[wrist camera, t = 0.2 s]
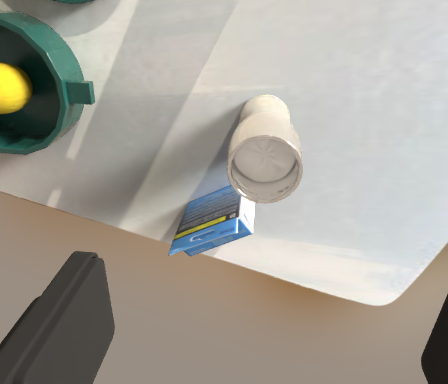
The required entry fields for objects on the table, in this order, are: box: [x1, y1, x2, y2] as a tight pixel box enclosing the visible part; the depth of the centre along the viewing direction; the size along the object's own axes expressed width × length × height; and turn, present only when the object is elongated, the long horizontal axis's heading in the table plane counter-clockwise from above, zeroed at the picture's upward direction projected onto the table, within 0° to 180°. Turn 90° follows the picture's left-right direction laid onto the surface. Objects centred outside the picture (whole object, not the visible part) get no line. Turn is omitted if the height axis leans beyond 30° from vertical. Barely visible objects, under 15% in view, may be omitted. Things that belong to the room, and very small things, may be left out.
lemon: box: [0, 62, 33, 114], centre depth 42 cm, size 6×6×8 cm
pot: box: [0, 11, 95, 155], centre depth 43 cm, size 15×21×5 cm
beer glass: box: [227, 95, 303, 203], centre depth 38 cm, size 7×7×15 cm
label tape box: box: [169, 186, 255, 256], centre depth 46 cm, size 9×4×12 cm, turn 117°
